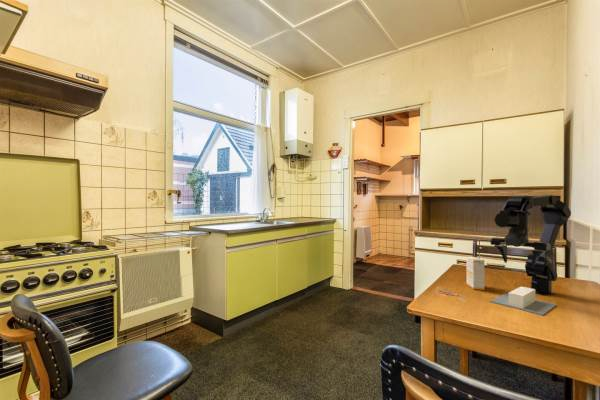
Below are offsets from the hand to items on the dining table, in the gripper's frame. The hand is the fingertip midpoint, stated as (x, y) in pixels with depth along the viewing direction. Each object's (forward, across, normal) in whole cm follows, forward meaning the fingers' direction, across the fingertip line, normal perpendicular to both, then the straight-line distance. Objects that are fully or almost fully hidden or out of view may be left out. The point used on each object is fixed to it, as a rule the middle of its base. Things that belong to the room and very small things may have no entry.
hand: (518, 264), depth 115 cm
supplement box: (+13, -16, -1) cm, 21 cm away
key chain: (+14, -16, -21) cm, 30 cm away
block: (+10, +4, -2) cm, 11 cm away
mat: (+13, +4, -8) cm, 16 cm away
